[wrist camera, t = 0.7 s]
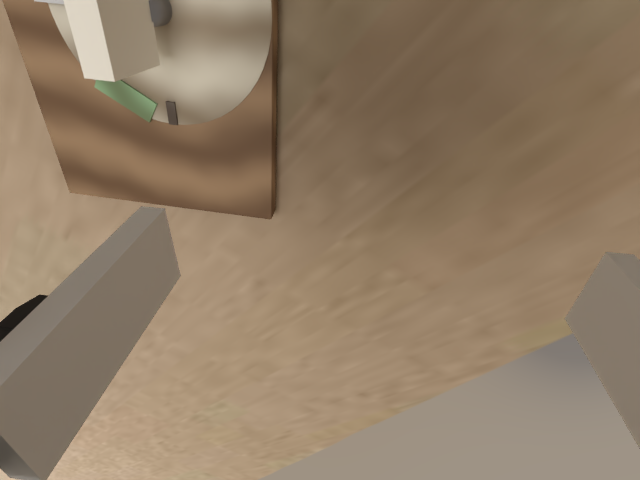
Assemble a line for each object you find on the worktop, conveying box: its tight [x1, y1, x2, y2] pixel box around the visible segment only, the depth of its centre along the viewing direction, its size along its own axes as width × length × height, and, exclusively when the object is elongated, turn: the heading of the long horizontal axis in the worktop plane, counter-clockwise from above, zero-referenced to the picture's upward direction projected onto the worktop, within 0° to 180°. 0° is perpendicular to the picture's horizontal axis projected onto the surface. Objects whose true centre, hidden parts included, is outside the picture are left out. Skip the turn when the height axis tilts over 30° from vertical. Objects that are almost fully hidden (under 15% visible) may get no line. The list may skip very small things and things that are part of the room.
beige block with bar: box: [34, 0, 172, 82], centre depth 25 cm, size 7×11×9 cm, turn 85°
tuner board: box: [3, 0, 278, 219], centre depth 31 cm, size 30×22×2 cm
